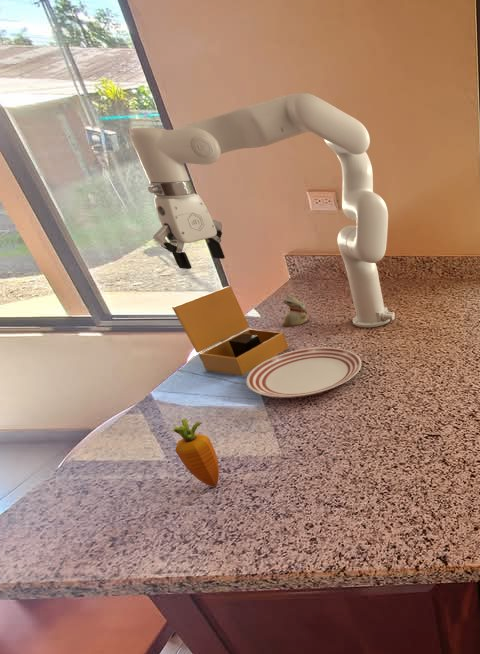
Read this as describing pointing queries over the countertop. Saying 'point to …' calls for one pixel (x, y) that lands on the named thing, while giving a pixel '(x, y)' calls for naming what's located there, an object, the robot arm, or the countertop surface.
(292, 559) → the countertop surface
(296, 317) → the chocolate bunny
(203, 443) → the carrot
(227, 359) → the box
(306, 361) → the dinner plate
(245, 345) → the black block
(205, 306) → the hinged box lid
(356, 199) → the robot arm
